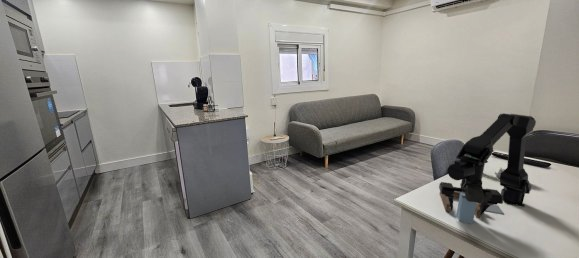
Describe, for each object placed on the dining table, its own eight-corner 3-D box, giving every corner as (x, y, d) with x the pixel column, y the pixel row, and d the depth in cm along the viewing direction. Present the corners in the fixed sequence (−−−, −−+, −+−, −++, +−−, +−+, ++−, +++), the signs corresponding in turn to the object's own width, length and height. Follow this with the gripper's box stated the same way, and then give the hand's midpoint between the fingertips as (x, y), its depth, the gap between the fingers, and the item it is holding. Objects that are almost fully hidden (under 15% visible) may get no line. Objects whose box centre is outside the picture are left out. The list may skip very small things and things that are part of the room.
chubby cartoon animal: (498, 179, 131) (493, 164, 131) (528, 178, 122) (523, 162, 122) (496, 184, 126) (491, 168, 126) (528, 182, 117) (522, 166, 117)
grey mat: (497, 206, 101) (498, 205, 101) (504, 214, 95) (504, 213, 95) (479, 202, 104) (479, 202, 104) (483, 210, 98) (484, 210, 98)
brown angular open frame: (475, 199, 106) (476, 192, 105) (487, 219, 92) (488, 211, 91) (439, 193, 112) (440, 187, 111) (445, 211, 98) (446, 204, 97)
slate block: (469, 217, 94) (473, 194, 91) (472, 223, 90) (477, 199, 87) (456, 214, 95) (460, 192, 93) (458, 221, 92) (463, 197, 89)
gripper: (446, 179, 85) (440, 218, 88) (514, 189, 77) (504, 230, 81) (441, 167, 95) (436, 203, 98) (501, 175, 87) (492, 213, 91)
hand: (465, 212), depth 92 cm, fingers open, 9 cm apart
